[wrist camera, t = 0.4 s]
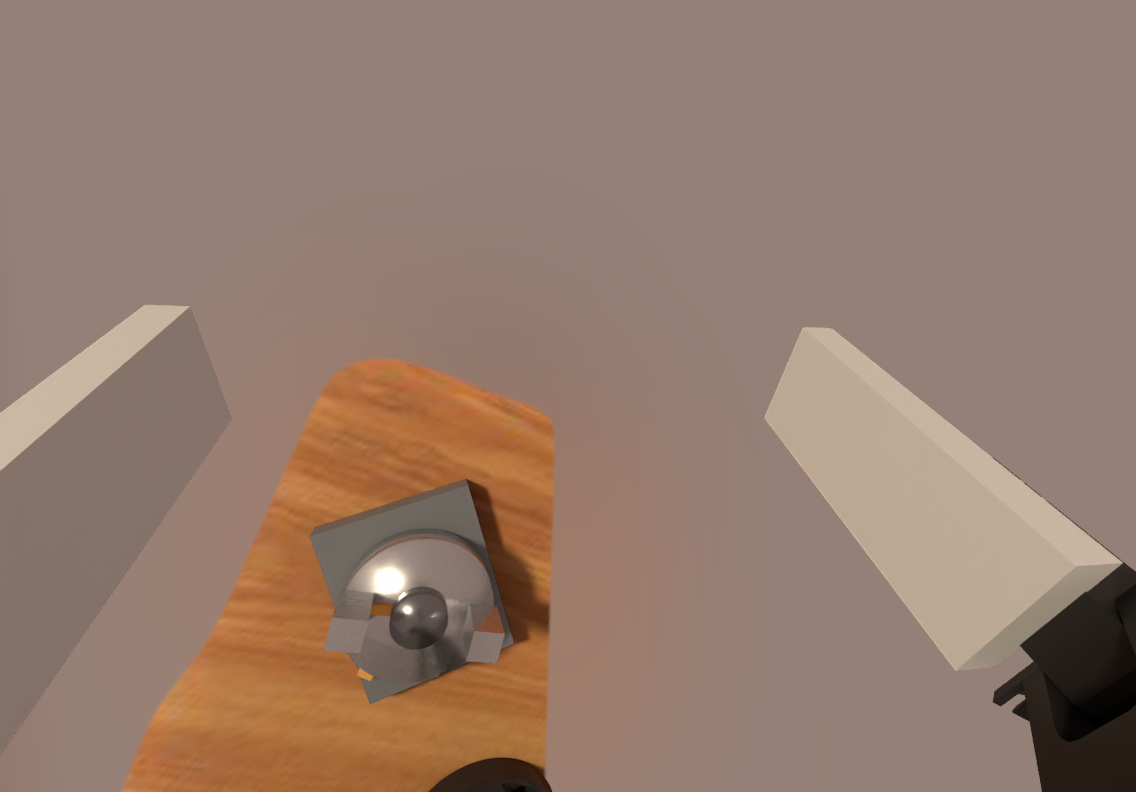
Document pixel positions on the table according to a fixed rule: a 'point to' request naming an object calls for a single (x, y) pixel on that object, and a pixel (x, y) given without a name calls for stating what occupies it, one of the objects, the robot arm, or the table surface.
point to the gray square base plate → (361, 532)
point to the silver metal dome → (417, 608)
